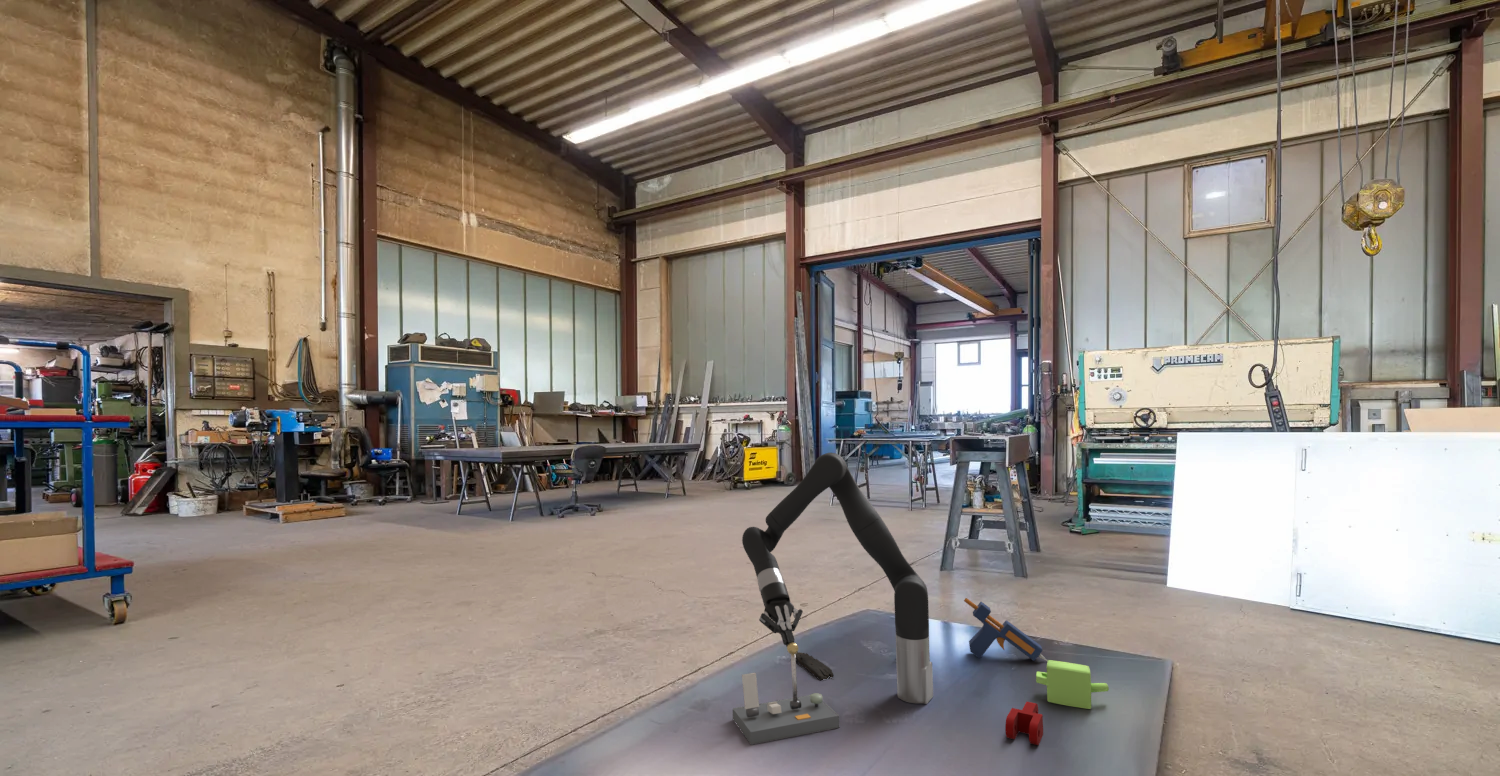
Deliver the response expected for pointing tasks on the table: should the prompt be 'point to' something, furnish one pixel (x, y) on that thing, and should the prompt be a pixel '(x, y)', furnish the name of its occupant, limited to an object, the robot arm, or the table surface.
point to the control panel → (785, 720)
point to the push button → (816, 699)
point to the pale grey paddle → (750, 694)
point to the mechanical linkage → (1025, 723)
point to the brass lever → (794, 675)
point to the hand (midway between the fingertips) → (790, 645)
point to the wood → (814, 666)
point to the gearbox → (1069, 684)
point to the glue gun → (999, 634)
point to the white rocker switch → (774, 707)
